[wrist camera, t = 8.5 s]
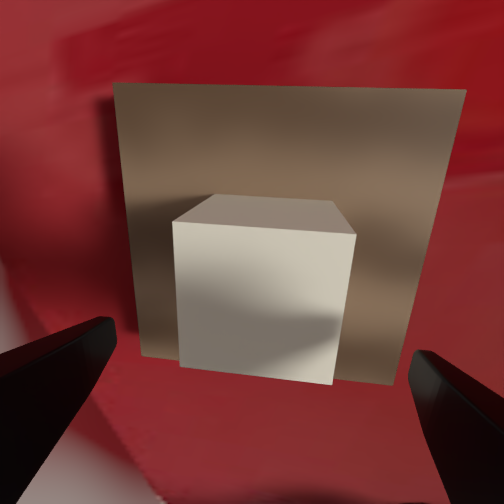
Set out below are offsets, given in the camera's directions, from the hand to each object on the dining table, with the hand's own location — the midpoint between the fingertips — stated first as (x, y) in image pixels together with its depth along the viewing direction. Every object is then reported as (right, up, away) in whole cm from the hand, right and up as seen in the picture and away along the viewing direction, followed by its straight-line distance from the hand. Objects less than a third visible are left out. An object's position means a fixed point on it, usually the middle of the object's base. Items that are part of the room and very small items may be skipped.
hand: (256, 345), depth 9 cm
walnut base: (+1, +4, +10) cm, 11 cm away
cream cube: (+1, +3, +7) cm, 8 cm away
